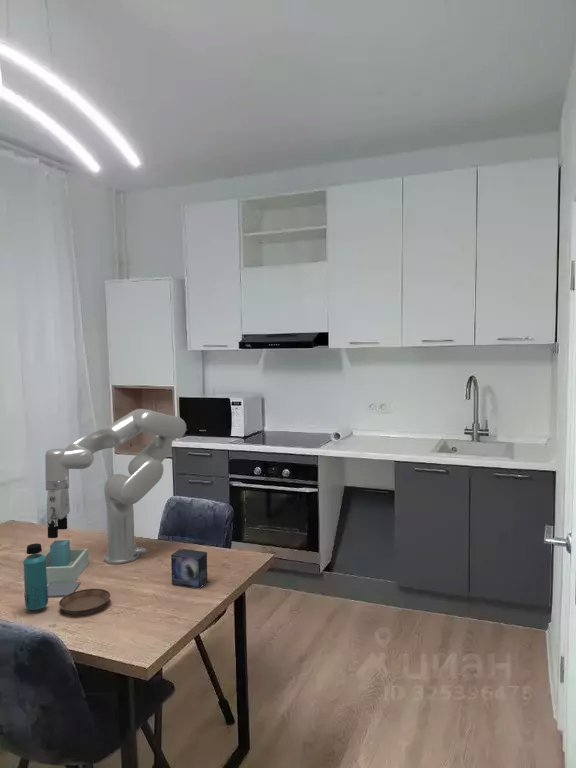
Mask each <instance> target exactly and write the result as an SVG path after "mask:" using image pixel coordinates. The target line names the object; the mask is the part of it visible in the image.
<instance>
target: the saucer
mask: <svg viewBox="0 0 576 768" xmlns="http://www.w3.org/2000/svg"><path fill="white" fill-rule="evenodd" d="M110 598H111V593H110V591H108V590H107V589H104V588H86V589H80V590H76V591H75V592H73V593H70V594H68V595H66V596H65V597H61V599H60V600H59V603H58V606H59V608H61V610H62V611H64V612H65V613H66V614H69V615H73V616H83V615H84V616H85V615H89V614H92V613H95V612H98V611H99V610H101V609H103V607H104V606H105V605H106V604H107V603H108V602H109V600H110Z"/></svg>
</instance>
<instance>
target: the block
mask: <svg viewBox="0 0 576 768" xmlns="http://www.w3.org/2000/svg"><path fill="white" fill-rule="evenodd" d="M70 543H71V542H70V539H61V540H60V539H59V540H54V541H53V542H52V543H51V544H50V545H49V550H50V557H51V567H63V566H68V564H69V563H70V549H71V545H70Z"/></svg>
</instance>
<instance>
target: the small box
mask: <svg viewBox="0 0 576 768" xmlns="http://www.w3.org/2000/svg"><path fill="white" fill-rule="evenodd" d="M170 557H171V558H170V560H171V562H170V563H171V564H170V565H171V585H172V584H173V586H177V585H180V586H179V587H183V586H187V587H186V588H189V587H195V588H200V587H201V586H202V585H203V586H205V585H206V584H207V583H208V552H207V551H201V550H195V549H186V548H179V549H177V550H176V551H174V552H173V553H172V554H170ZM206 582H207V583H206ZM205 583H206V584H205ZM204 584H205V585H204ZM203 586H202V587H203ZM202 587H201V588H202ZM195 588H194V589H195ZM201 588H200V589H201Z"/></svg>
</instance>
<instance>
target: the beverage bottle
mask: <svg viewBox="0 0 576 768" xmlns="http://www.w3.org/2000/svg"><path fill="white" fill-rule="evenodd" d="M42 550H43V549H42V544H41V543H36V542H35V543H31V544H28V545H27V546H26V554H28V555H27V556H26V557H25V559H23V560H22V561H23V582H24V584H23V585H24V592H23V593H24V595H23V596H24V604H25V605H24V606H25V608H26V609H27V610H31V611H32V610H39V609H42V608H44V607H46V606H47V605H48V603H49V598H48V591H47V588H48V587H47V586H48V585H49V584H48V581H47V580H48V579H47V573H46V557H45V556H44V554H42V553H41V552H42Z"/></svg>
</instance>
